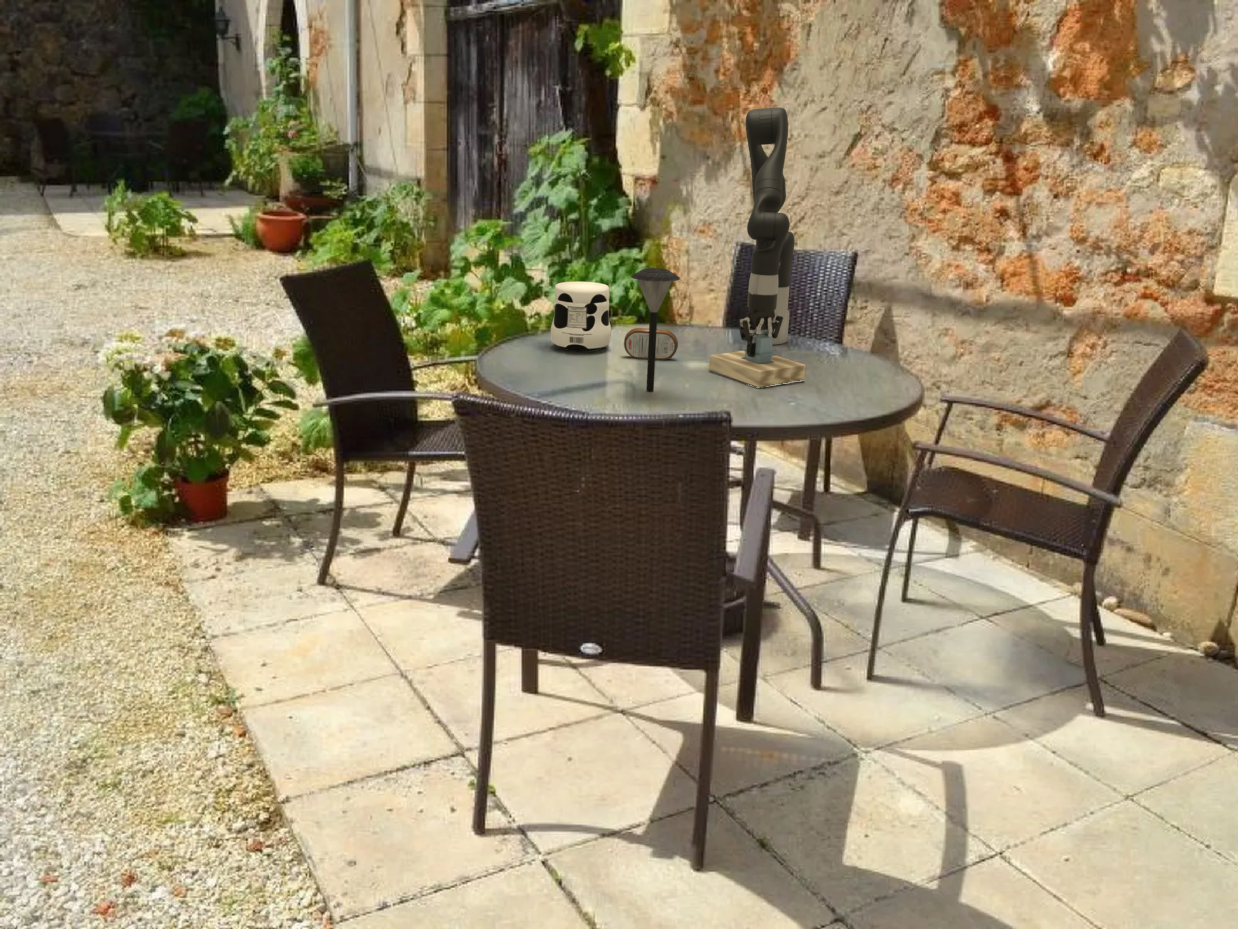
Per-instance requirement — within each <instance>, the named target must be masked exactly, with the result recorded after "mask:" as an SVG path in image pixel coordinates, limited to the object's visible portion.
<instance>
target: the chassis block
mask: <svg viewBox="0 0 1238 929" xmlns="http://www.w3.org/2000/svg"><path fill="white" fill-rule="evenodd" d="M744 358H745V351H744V350H737V351H732V352H724V353H716V354H710V356H709V370H708V371H709V373H713V374H715V375H718V376H721V377H723V378H726V379H730V380H732V381H736V382H737V381H738V382H737V383H740V384H744V385H746V384H749V385H752V386H754V387H766V386H770V385H775V384H783V383H788V382H792V381H800V380H804V379H805V378H806V372H807V371H806V369H807V365H806V364H803V363H801V362H796V361H794V360H791V359H788V358H785V357H782V356H779V355H777V354H776V355H775V356H771V363H764V364H757V363H754V362H751V361H748V360H745V359H744ZM805 380H806V379H805ZM754 387H753V388H754Z"/></svg>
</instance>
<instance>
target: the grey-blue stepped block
mask: <svg viewBox="0 0 1238 929" xmlns="http://www.w3.org/2000/svg"><path fill="white" fill-rule="evenodd" d="M752 336H753V334H752ZM751 338H752V337H751ZM755 343H756V348H755V357H749V356H748V355H747V341H745V347H741V350H740V351H745V358H744V359H745V360H748V361H751V362H754V363H757V364H764V363H771V356H775V355H776V356H777V354H776V353H775V352H773V344H772V343H773V337H770V336H766V335H763V334H760V333H759V335H758V336H757V338H756V342H755Z"/></svg>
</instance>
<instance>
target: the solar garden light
mask: <svg viewBox="0 0 1238 929" xmlns="http://www.w3.org/2000/svg"><path fill="white" fill-rule="evenodd" d="M630 278H631V279H633V280H637V282H638V285H639V287H640V290H641V293H642V294H643V297H644V299H645V302H646V305H647V307H648V310H649V327H648V329H649V344H648V359H647V367H646V368H647V371H646V392H649V393H651V392H652V393H653V392H654V390H655V389H654V388H655V373H656V372H655V369H656V360H655V353H656V333H657V329H658V312H659V310H660V308H661V305H662V303H663V302H664V299H665V298H666V295H667V293H668V291H669V289H670V288H671V285H672V283H673V282H678V281H681V277H679V276H678V275H677V274H675V273H673V272H672V271H671V270H669V269H665V268H659V267H647V268H643V269H640V270H638V271H637V272H634V273H633V274H631V275H630Z"/></svg>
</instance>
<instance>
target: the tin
mask: <svg viewBox="0 0 1238 929" xmlns="http://www.w3.org/2000/svg"><path fill="white" fill-rule="evenodd" d="M623 340H624V342H623V347H624V350H625V352H626V354H628V355H629V356H630V357H631V358H634V359H638V360H639V359H641V360H648V344H649V327H647V328H645V327H635V328H632V329H630V330H629V331H628V332H627V333H626V334H625V336H624V339H623ZM678 348H679V342H678V338H677V337H676V334H674V333H673V332H671V331H670V330H668V329H662V328H660V329H659V328H657V333H656V353H655V361H666V360H670V359H672V358H673V356H674V355H676V353H677V350H678Z"/></svg>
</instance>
